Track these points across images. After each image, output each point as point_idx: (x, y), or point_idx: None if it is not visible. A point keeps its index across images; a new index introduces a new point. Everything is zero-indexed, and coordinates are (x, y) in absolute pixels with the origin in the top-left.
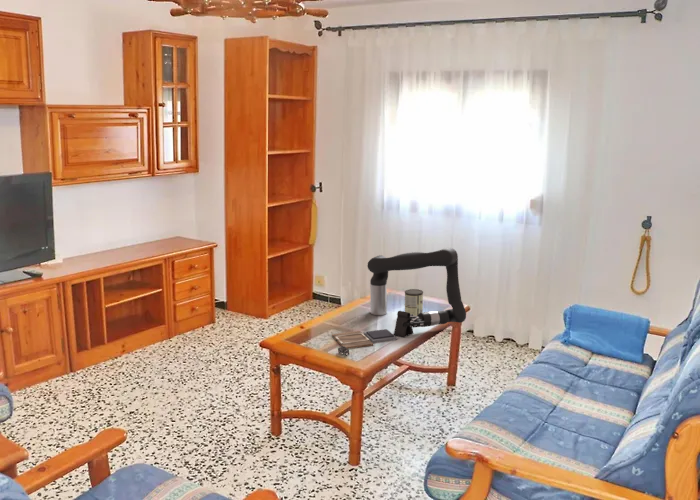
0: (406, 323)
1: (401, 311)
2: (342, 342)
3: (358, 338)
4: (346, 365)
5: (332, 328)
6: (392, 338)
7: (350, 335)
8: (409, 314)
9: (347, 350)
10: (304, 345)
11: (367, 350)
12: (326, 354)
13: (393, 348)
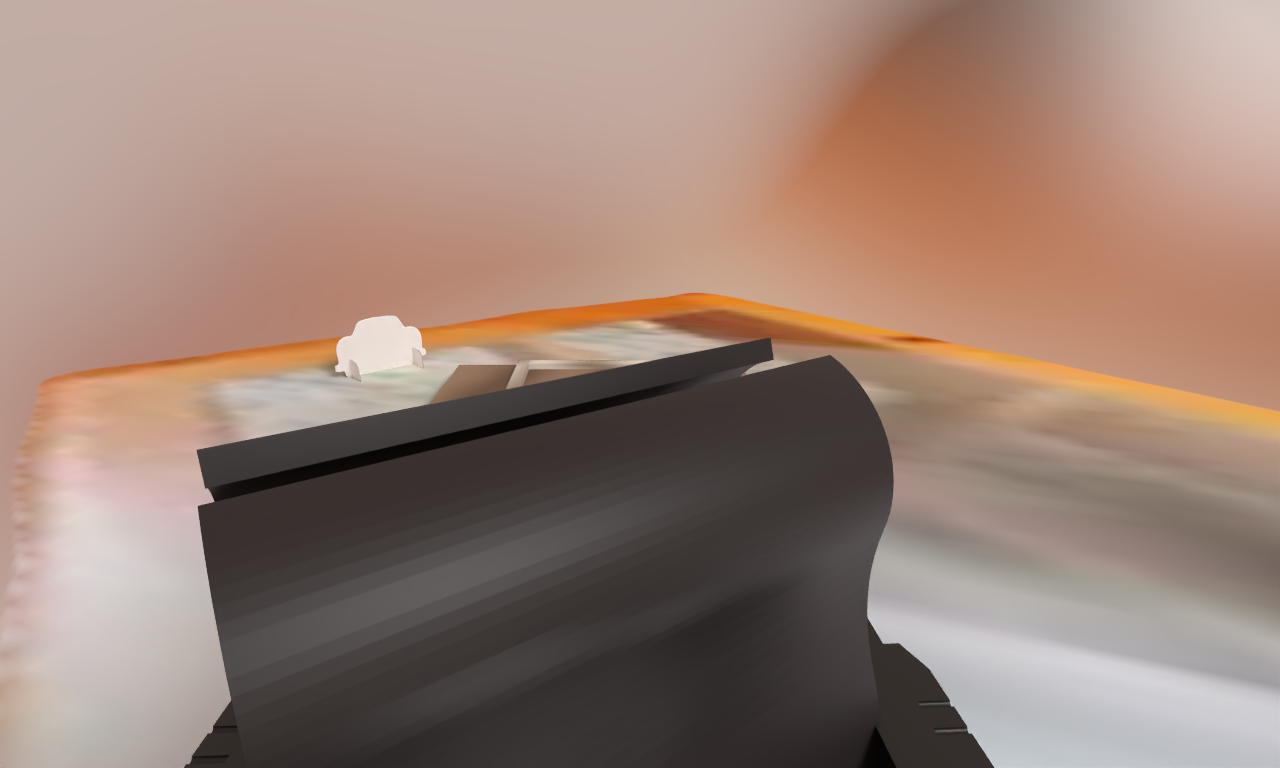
0: (208, 735)
1: (746, 390)
2: (536, 363)
3: None
4: (220, 358)
5: (914, 395)
6: None
7: None
8: (290, 713)
9: (349, 344)
10: (618, 324)
11: None
12: (444, 342)
13: (103, 593)
